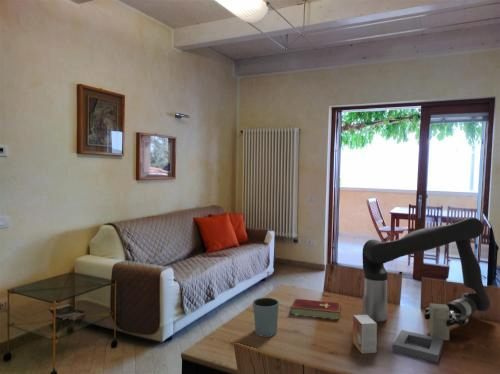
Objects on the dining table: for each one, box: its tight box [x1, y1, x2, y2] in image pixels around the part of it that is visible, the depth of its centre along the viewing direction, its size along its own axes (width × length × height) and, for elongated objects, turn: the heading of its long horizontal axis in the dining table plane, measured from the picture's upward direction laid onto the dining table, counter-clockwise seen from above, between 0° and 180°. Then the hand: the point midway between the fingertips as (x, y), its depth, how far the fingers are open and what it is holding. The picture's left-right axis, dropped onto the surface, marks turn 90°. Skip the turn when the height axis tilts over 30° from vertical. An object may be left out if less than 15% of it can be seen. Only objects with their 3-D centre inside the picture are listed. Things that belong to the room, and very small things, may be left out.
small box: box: [352, 314, 378, 354], centre depth 128 cm, size 8×6×10 cm
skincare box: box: [429, 302, 450, 341], centre depth 137 cm, size 6×4×12 cm
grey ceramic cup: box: [252, 297, 280, 337], centre depth 142 cm, size 10×10×12 cm
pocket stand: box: [392, 329, 444, 363], centre depth 128 cm, size 14×14×2 cm
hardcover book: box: [290, 298, 342, 320], centre depth 162 cm, size 12×21×4 cm, turn 74°
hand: (436, 320), depth 135 cm, fingers open, 7 cm apart
